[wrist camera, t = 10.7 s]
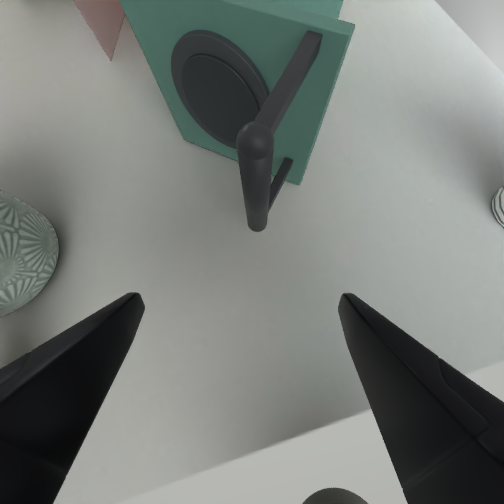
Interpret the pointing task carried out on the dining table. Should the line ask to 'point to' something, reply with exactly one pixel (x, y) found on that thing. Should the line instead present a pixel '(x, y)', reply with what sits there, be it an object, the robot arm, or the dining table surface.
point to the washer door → (244, 82)
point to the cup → (499, 206)
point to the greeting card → (103, 21)
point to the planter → (24, 253)
